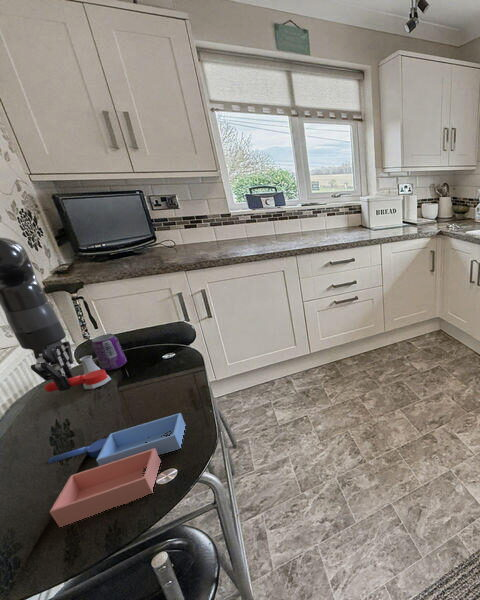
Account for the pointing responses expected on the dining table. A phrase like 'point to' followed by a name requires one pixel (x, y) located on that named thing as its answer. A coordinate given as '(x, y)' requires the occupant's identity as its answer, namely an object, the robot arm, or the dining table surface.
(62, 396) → the dining table surface
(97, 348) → the beverage can
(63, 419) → the dining table surface
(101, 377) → the red spoon
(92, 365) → the flask
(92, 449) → the blue spoon
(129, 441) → the blue bin
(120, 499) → the rose bin
